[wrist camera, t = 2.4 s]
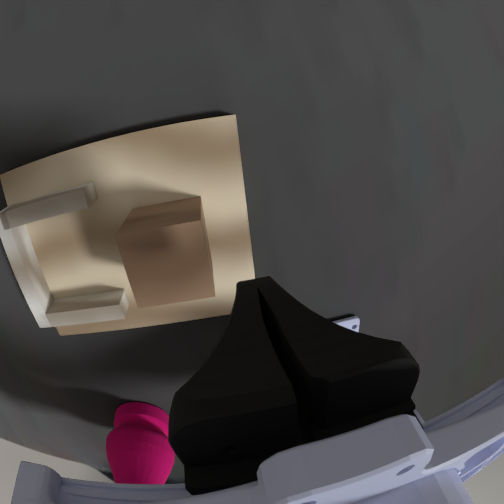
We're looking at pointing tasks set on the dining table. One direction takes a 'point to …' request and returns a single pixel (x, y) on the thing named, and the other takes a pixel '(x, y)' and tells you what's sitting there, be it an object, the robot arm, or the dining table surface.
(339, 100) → the dining table surface
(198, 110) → the dining table surface
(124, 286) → the board
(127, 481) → the pepper mill
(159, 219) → the block
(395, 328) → the dining table surface
